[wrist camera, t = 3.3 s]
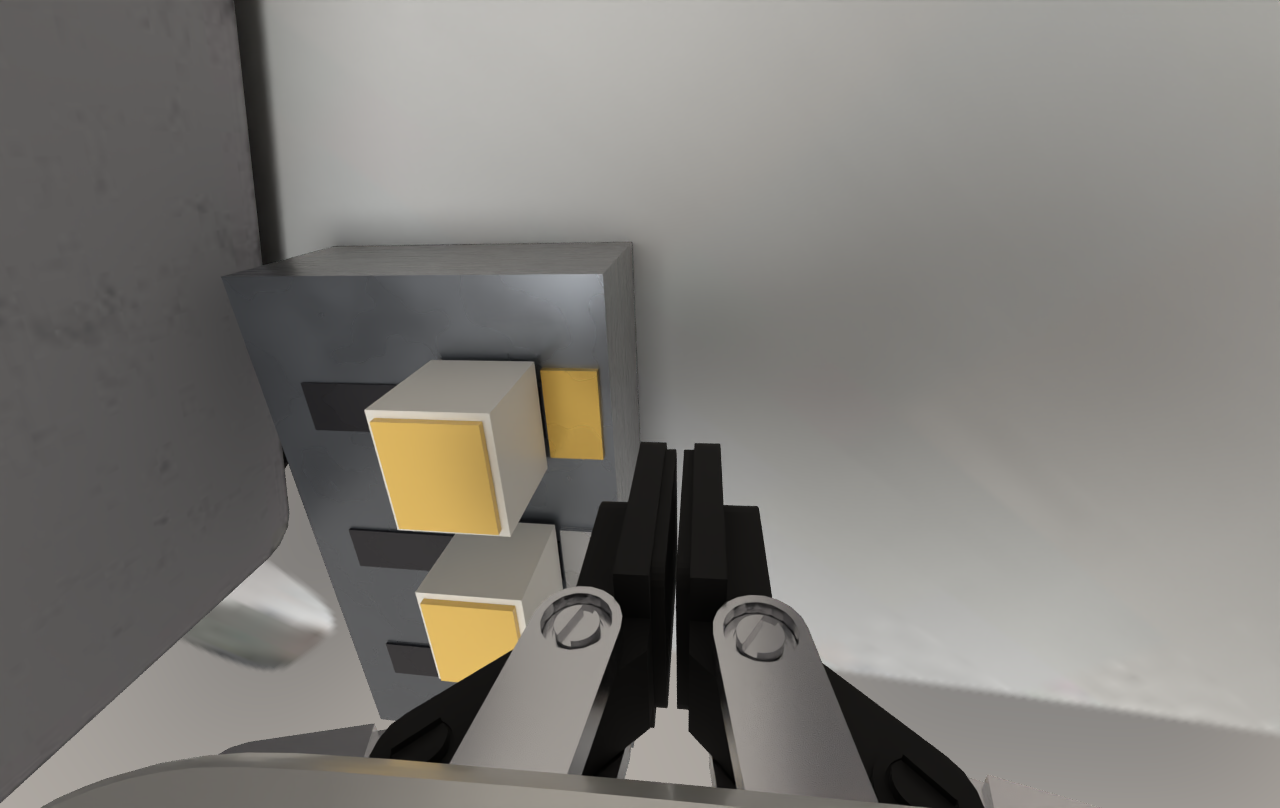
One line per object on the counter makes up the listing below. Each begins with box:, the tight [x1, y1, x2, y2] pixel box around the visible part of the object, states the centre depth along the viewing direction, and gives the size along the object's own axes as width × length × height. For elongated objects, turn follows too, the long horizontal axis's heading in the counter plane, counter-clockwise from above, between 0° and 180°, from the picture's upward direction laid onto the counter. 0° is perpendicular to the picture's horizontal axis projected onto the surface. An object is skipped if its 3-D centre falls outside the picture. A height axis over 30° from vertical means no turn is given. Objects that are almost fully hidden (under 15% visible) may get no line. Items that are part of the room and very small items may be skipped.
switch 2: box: [415, 523, 563, 682], centre depth 17 cm, size 3×3×3 cm
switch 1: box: [364, 360, 548, 537], centre depth 14 cm, size 3×3×3 cm
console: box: [221, 242, 640, 748], centre depth 21 cm, size 11×19×5 cm, turn 2°
